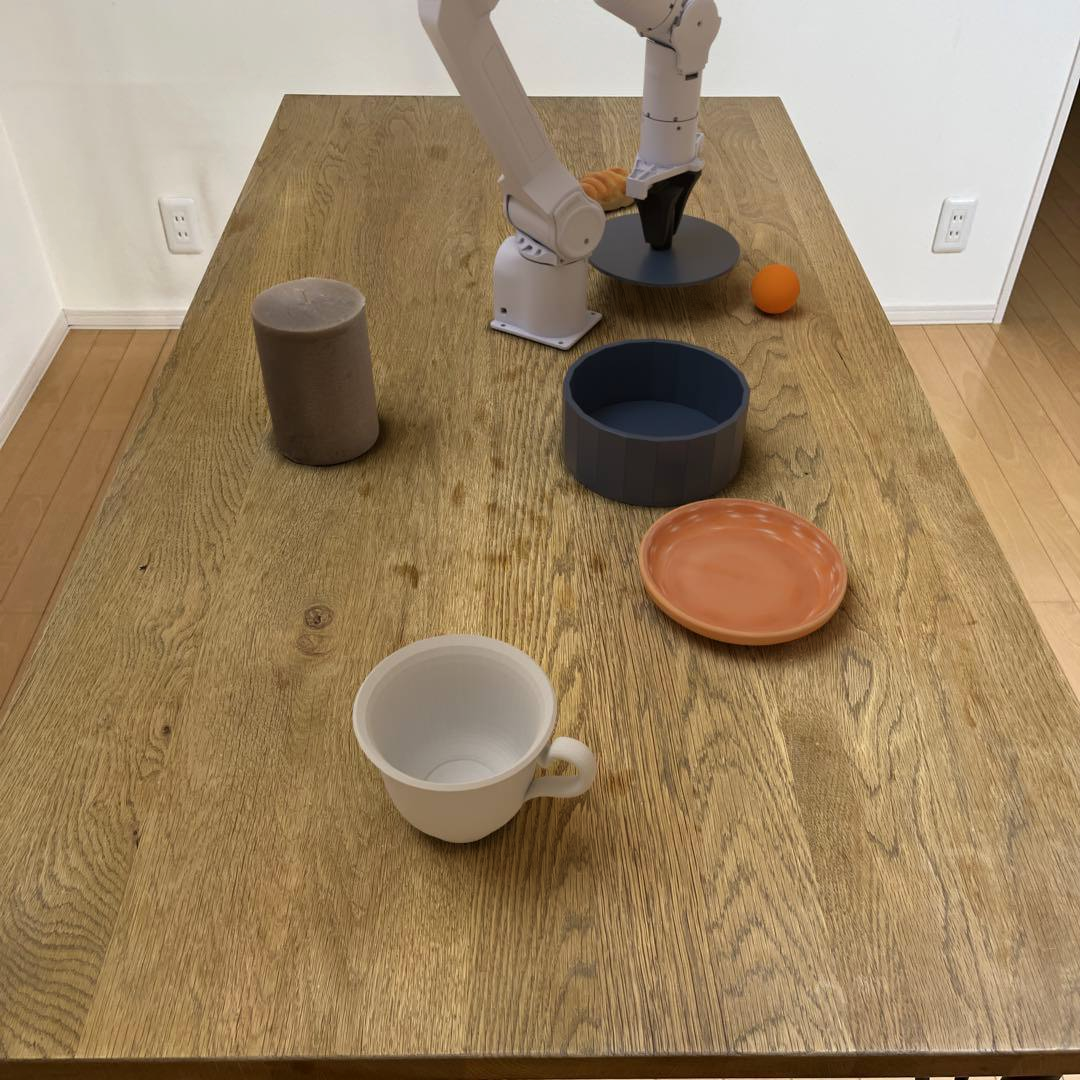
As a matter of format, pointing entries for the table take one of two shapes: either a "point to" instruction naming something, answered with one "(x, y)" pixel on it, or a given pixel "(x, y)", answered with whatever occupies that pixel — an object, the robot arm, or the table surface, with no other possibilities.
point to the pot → (653, 421)
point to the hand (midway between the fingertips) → (660, 238)
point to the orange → (775, 288)
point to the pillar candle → (317, 369)
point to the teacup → (464, 734)
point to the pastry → (607, 187)
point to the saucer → (742, 571)
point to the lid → (665, 253)
